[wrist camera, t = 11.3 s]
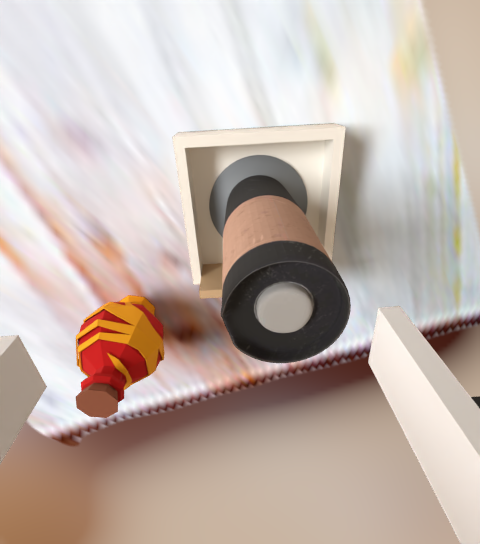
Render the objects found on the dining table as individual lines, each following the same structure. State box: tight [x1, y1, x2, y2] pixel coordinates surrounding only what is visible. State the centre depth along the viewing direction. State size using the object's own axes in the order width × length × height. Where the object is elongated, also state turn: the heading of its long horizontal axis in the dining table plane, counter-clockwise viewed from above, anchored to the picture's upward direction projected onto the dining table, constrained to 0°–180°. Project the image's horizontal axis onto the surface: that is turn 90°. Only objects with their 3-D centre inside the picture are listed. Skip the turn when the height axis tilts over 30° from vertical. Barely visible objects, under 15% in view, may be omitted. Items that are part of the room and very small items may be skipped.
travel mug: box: [221, 175, 351, 363], centre depth 27 cm, size 8×8×20 cm
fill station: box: [172, 123, 346, 299], centre depth 34 cm, size 16×16×7 cm
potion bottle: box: [76, 295, 164, 418], centre depth 37 cm, size 10×10×15 cm
